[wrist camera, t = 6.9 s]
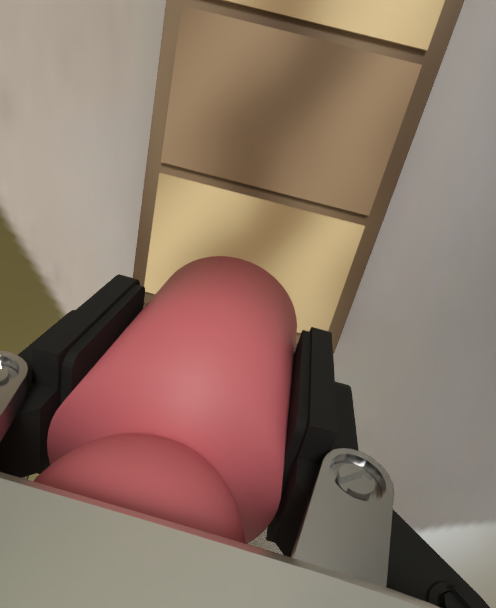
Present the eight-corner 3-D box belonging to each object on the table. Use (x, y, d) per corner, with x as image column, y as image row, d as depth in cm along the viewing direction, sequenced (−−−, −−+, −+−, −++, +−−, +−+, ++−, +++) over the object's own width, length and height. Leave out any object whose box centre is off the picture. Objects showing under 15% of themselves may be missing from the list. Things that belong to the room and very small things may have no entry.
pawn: (315, 278, 12) (307, 676, 4) (276, 398, 14) (213, 837, 6) (166, 238, 12) (-164, 533, 4) (148, 362, 14) (-98, 737, 6)
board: (634, -484, 12) (667, -545, 11) (332, 344, 23) (333, 355, 22) (246, -565, 12) (240, -634, 11) (137, 291, 23) (128, 300, 22)
